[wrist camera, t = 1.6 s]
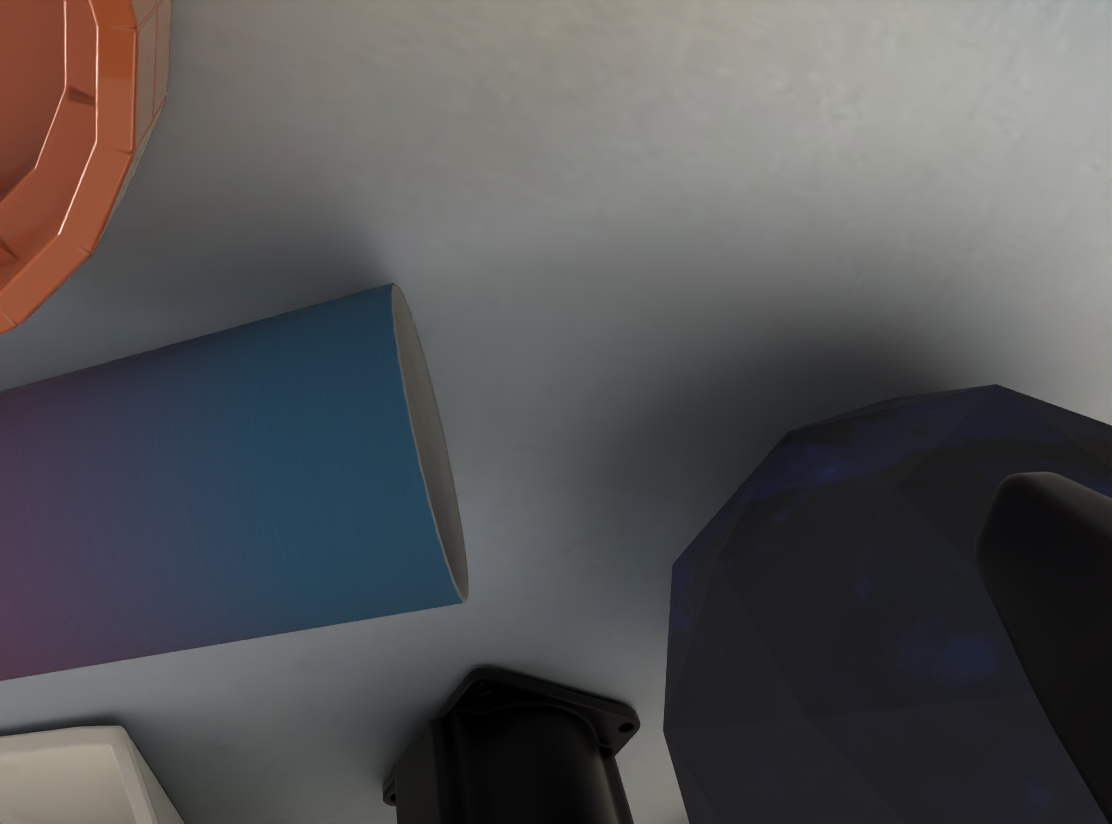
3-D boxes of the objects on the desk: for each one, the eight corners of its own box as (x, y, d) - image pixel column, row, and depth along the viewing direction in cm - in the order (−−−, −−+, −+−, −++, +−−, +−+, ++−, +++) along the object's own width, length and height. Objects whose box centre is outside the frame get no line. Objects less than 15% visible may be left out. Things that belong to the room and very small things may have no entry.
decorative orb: (1361, 562, 25) (1916, 992, 11) (966, 874, 31) (1019, 1416, 17) (930, 243, 27) (960, 283, 13) (632, 590, 33) (438, 869, 19)
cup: (-123, 616, 24) (459, 485, 24) (-298, 856, 18) (478, 673, 18) (-289, 382, 20) (393, 238, 21) (-574, 581, 14) (391, 371, 15)
